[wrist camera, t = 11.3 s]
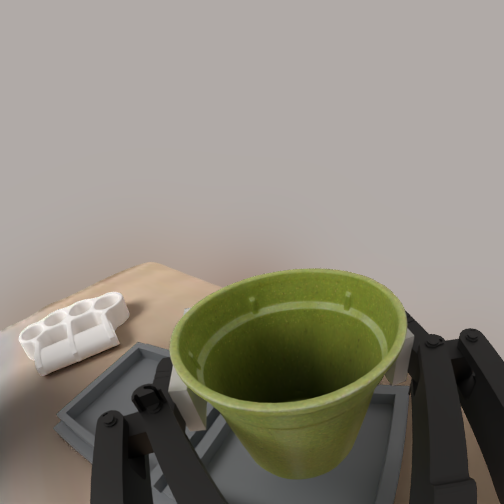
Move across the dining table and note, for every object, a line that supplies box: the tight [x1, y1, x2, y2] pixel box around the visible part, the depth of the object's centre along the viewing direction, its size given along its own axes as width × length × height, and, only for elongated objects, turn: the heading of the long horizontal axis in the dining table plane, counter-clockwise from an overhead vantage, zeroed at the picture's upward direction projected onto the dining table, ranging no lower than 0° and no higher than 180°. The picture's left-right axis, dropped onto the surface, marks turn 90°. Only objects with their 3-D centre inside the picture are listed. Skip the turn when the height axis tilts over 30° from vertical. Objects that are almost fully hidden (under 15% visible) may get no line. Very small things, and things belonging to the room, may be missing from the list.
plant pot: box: [169, 269, 407, 479], centre depth 13 cm, size 9×9×9 cm
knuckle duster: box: [19, 292, 129, 376], centre depth 34 cm, size 3×18×15 cm
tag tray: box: [53, 342, 409, 504], centre depth 18 cm, size 27×15×6 cm, turn 65°
